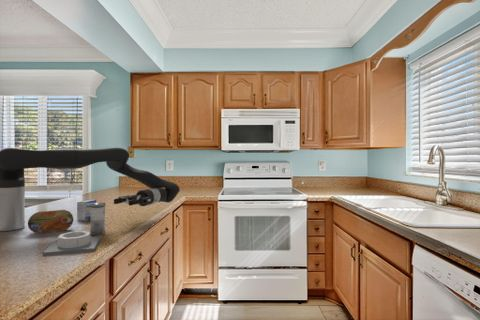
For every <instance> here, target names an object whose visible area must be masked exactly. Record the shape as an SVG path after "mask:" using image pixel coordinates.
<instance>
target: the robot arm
mask: <svg viewBox="0 0 480 320" xmlns="http://www.w3.org/2000/svg"><path fill="white" fill-rule="evenodd" d="M129 158H130V153H129V151H127V149H125V148H123V147H107V148H106V147H105V148H51V149H43V150H39V149H37V150H36V149H25V148H24V149H23V148H18V147H17V148H16V147H5V148H2V149H1V150H0V232H8V231H9V232H11V231H16V230H20V229H23V228H25V227H26V226H25V225H26V224H25V222H26V220H25V217H26V214H25V211H26V210H25V206H26V204H25V203H26V202H25V200H26V199H25V198H26V197H25V196H26V195H25V194H26V187H25V186H26V185H25V184H26V180H25V169H36V168H37V169H39V168H40V169H41V168H42V169H43V168H45V169H57V170H58V169H59V170H60V169H61V170H64V169H66V170H70V169H71V170H72V169H81V168H85V167H88V166H90V165H94V164H97V163H105V164H106V166H107V167H108V168H109V169H110V170H111V171H114V172H116V173H118V174H121V175H123V176H126V177H128V178H131V179H133V180H135V181H137V182H139V183H140V184H143V185H145V186H146V187H148V189H142V190H138V191H137V192H136V194H132V195H131V194H128V195H122V196H118V198H114V199H113V204H114V205H117V204H123V203H124V204H127V205H128V206H135V205H137V206H139V207H147V206H150V205H154V204H157V203H160V202H162V203H167V204H168V203H171V202H173V201H174V199H175V198H176V197H177V196H178V195H179V192H180V186H179V185H178V184H177V183H175V182H172V181H169V180H166V179H162V178H160V176H157V175H156V174H154V173H153V172H150V171H147V170H143V169H138V168H135V167H134V166H131V165H129V164H128V161H129Z"/></svg>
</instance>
